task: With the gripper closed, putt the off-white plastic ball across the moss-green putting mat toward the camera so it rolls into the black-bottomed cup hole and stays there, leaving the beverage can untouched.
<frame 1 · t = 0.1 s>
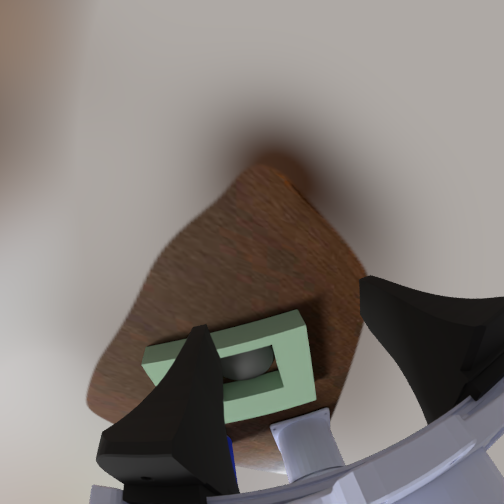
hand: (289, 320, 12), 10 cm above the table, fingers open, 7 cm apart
green: (235, 371, 25), on the table
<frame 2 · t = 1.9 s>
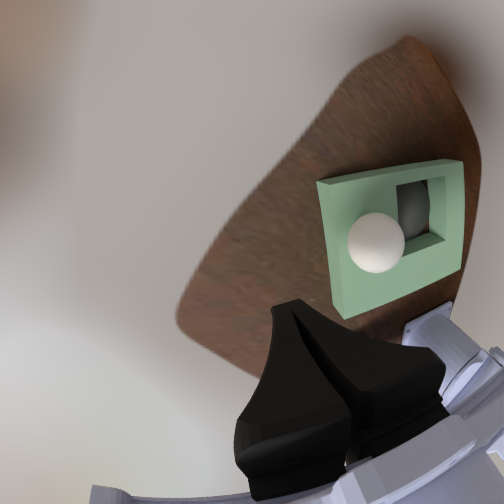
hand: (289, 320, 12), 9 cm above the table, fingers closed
ball: (376, 242, 17), point 4 cm above the table, touching green
green: (397, 227, 22), on the table
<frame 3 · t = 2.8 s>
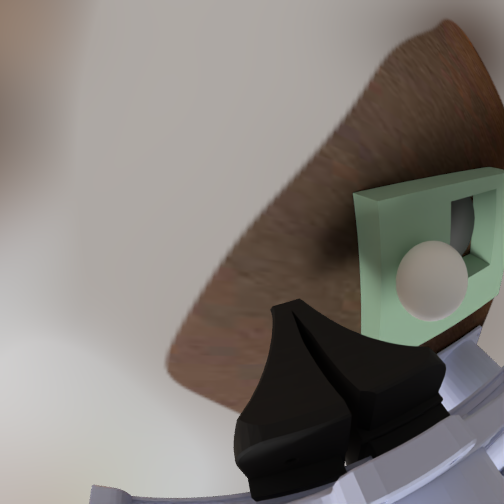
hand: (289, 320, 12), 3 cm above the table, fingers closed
ball: (432, 281, 11), point 4 cm above the table, touching green
green: (440, 250, 16), on the table
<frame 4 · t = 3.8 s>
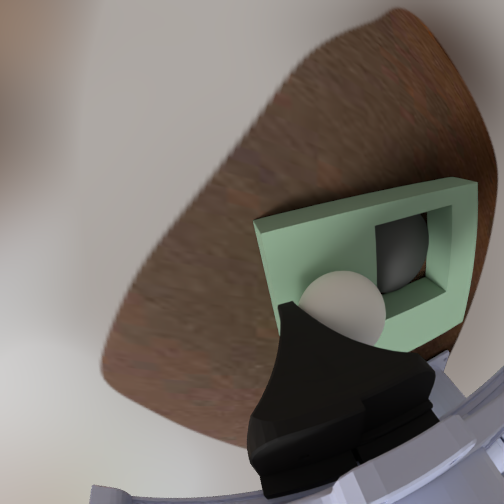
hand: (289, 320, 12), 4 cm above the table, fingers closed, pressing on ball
ball: (341, 316, 11), point 4 cm above the table, tilted 14°, touching green, gripper
green: (380, 275, 16), on the table
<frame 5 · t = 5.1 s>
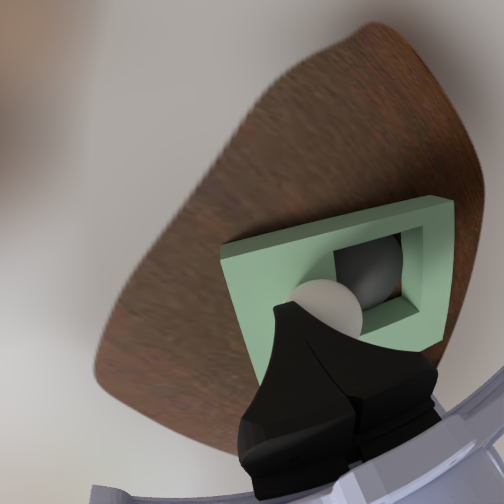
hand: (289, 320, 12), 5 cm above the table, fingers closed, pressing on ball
ball: (320, 321, 12), point 4 cm above the table, tilted 55°, touching green, gripper
green: (350, 295, 17), on the table
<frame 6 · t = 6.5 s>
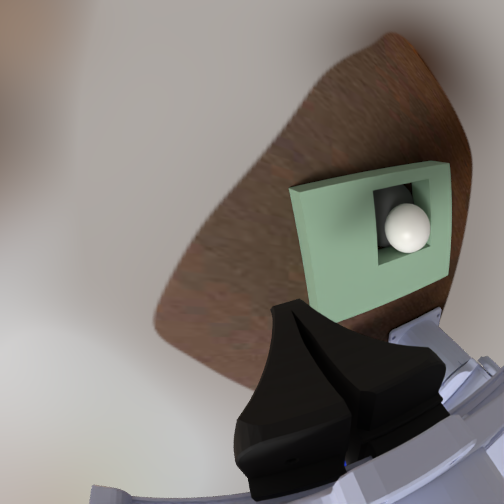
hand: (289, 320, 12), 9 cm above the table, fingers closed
ball: (407, 228, 19), point 2 cm above the table, tilted 143°, touching green
green: (378, 233, 22), on the table
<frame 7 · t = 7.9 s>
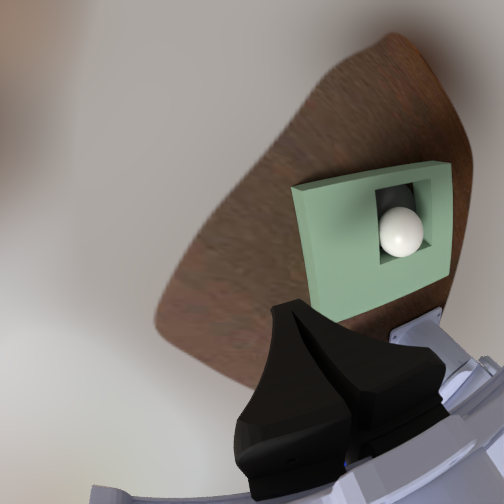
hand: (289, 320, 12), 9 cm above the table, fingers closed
ball: (400, 232, 19), point 2 cm above the table, tilted 159°, touching green
green: (380, 232, 22), on the table
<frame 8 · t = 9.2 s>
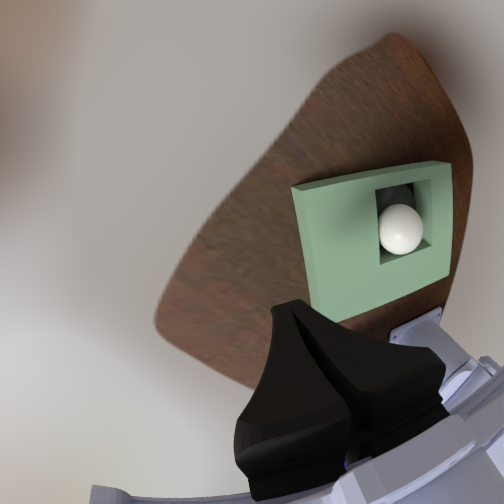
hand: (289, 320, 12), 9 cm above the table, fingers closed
ball: (399, 229, 19), point 2 cm above the table, tilted 166°, touching green
green: (380, 232, 22), on the table
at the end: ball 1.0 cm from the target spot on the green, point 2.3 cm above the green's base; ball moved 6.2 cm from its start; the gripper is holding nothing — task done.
